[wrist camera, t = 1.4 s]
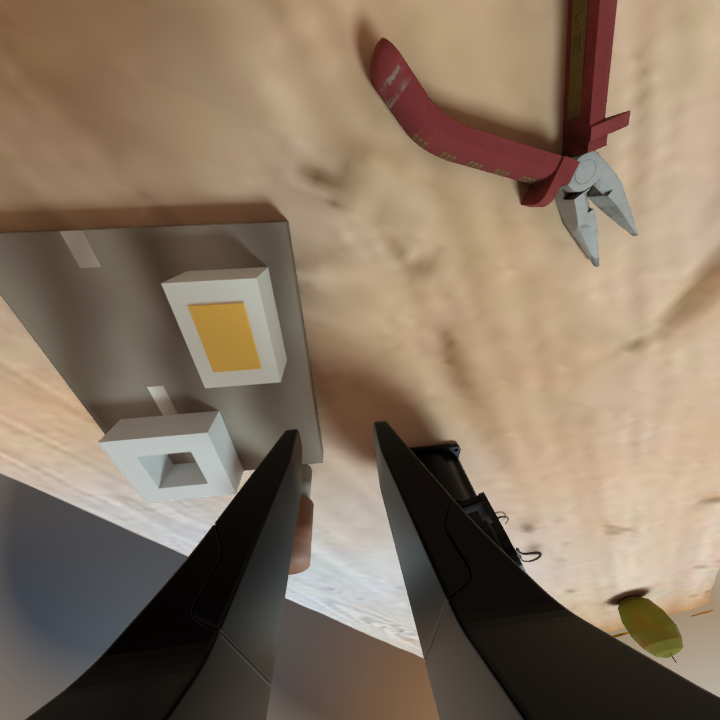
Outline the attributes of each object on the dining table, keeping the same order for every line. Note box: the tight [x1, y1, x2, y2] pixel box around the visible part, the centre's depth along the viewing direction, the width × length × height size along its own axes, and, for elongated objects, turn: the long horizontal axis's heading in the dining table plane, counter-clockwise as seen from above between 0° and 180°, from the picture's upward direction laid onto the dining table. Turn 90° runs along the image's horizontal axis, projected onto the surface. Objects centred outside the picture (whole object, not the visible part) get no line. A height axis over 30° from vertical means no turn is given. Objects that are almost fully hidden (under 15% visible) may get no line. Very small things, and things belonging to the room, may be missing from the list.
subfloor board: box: [0, 221, 323, 470], centre depth 21 cm, size 18×22×2 cm
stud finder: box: [161, 267, 287, 388], centre depth 17 cm, size 5×7×3 cm
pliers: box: [370, 0, 638, 267], centre depth 15 cm, size 12×20×3 cm, turn 49°
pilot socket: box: [98, 411, 244, 503], centre depth 23 cm, size 8×8×2 cm
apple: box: [618, 596, 683, 662], centre depth 62 cm, size 10×10×11 cm
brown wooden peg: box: [288, 464, 314, 575], centre depth 26 cm, size 4×4×9 cm
